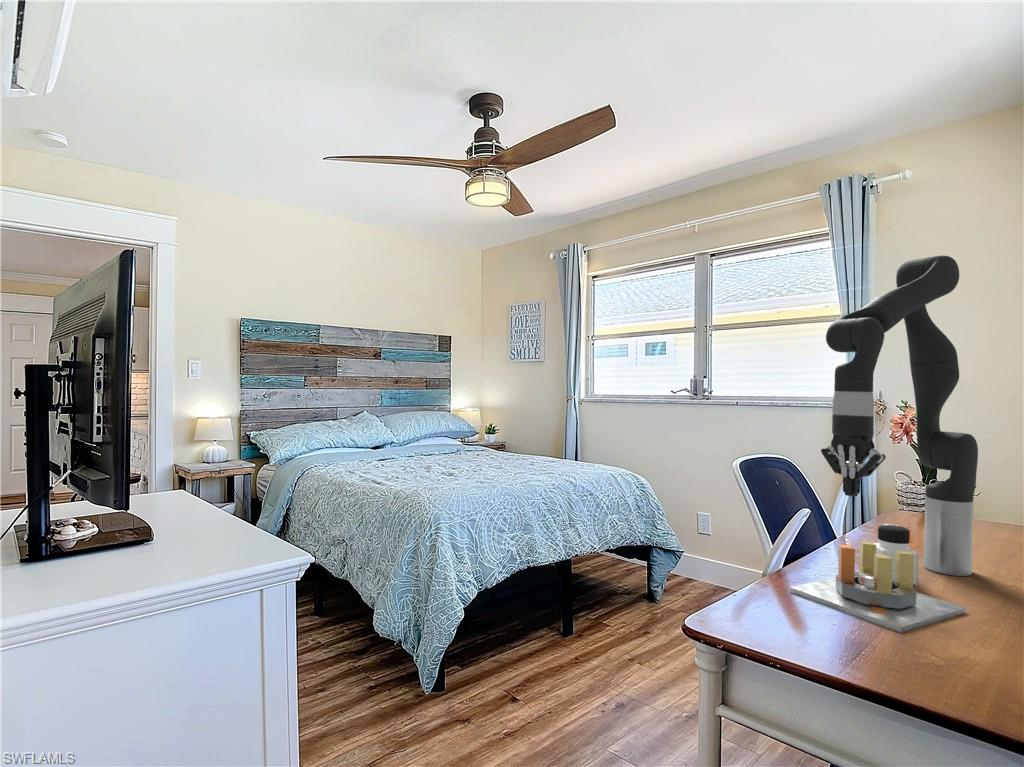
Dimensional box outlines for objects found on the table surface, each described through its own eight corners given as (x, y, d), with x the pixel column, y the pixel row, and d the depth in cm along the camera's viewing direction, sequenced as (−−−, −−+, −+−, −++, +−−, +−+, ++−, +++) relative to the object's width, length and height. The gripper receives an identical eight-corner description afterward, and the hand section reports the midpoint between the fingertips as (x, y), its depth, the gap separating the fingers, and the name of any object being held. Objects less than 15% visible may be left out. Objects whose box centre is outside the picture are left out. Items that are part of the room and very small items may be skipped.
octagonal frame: (861, 581, 125) (862, 538, 125) (926, 601, 114) (927, 554, 114) (824, 589, 119) (825, 544, 119) (888, 611, 108) (889, 562, 108)
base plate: (853, 577, 131) (854, 555, 131) (965, 612, 112) (966, 586, 112) (789, 591, 121) (790, 568, 121) (900, 632, 101) (901, 604, 101)
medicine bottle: (917, 585, 127) (918, 531, 127) (882, 582, 128) (883, 528, 128) (902, 575, 134) (903, 523, 134) (869, 572, 135) (870, 521, 135)
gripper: (896, 415, 117) (894, 500, 117) (834, 411, 129) (832, 489, 129) (874, 415, 113) (872, 503, 113) (812, 411, 125) (810, 491, 125)
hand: (851, 495), depth 121 cm, fingers closed
